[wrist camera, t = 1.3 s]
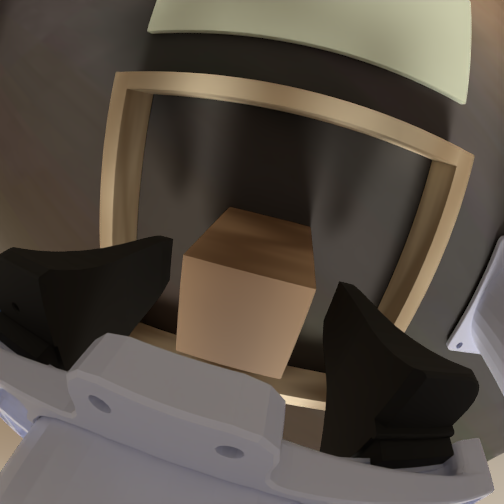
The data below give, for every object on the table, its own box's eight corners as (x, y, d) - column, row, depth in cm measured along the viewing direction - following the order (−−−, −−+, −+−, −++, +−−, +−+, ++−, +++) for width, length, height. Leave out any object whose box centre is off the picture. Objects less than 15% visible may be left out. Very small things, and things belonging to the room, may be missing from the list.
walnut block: (310, 226, 14) (316, 289, 8) (289, 296, 15) (280, 379, 10) (229, 206, 14) (183, 254, 8) (217, 277, 15) (175, 350, 10)
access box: (448, 151, 11) (474, 155, 8) (347, 385, 17) (349, 413, 15) (143, 79, 12) (115, 72, 10) (127, 326, 18) (109, 347, 16)
